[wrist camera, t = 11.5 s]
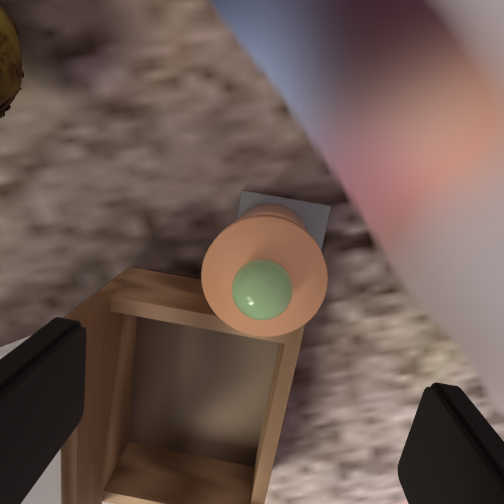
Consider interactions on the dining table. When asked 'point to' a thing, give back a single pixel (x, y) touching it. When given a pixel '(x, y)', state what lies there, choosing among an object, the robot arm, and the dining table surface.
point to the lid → (49, 484)
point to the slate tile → (309, 212)
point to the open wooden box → (174, 399)
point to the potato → (9, 62)
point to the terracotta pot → (265, 272)
